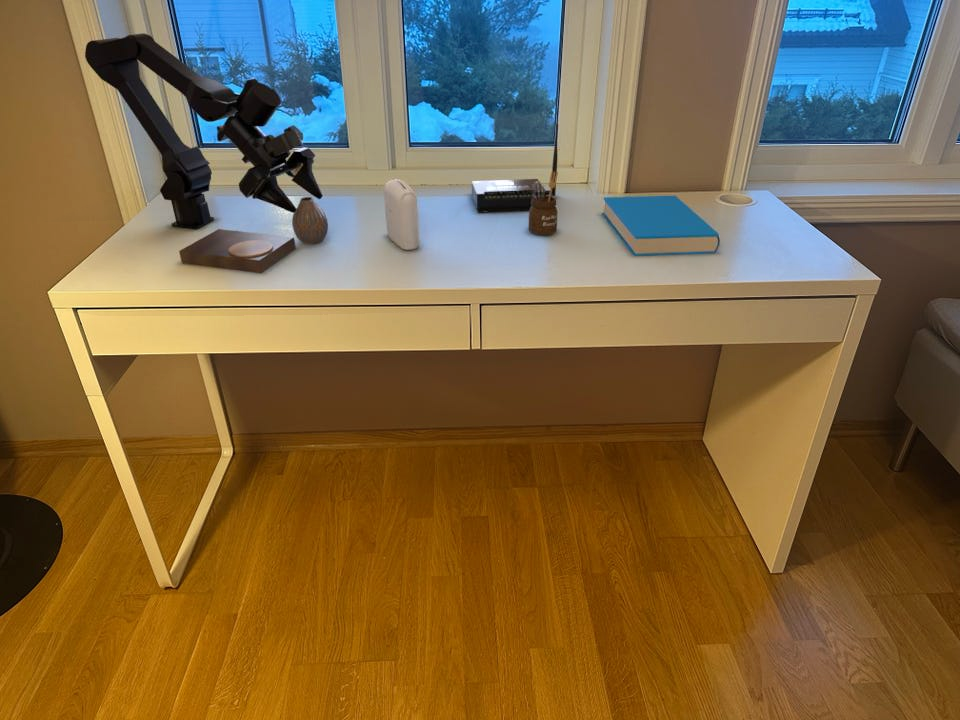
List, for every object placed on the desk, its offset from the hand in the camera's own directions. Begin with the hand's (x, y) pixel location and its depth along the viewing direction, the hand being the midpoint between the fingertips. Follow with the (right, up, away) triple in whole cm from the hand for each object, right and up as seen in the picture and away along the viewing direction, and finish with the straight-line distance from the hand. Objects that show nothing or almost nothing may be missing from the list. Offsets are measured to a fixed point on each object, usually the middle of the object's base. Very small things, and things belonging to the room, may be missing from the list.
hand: (308, 204), depth 134 cm
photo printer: (+18, -7, +4) cm, 20 cm away
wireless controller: (+43, +6, +26) cm, 50 cm away
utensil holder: (+47, -4, +9) cm, 48 cm away
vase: (0, -7, +4) cm, 8 cm away
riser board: (-12, -11, -3) cm, 17 cm away
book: (+71, -4, +8) cm, 72 cm away
